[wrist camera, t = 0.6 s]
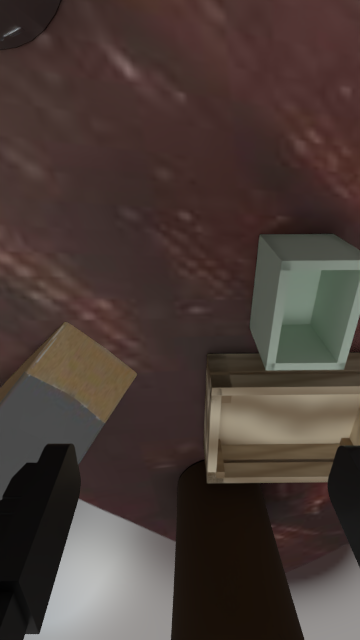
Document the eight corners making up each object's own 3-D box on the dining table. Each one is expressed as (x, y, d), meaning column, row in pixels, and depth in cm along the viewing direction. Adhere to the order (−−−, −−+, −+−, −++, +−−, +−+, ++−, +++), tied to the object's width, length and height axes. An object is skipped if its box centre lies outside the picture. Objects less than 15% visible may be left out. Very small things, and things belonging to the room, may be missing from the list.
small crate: (259, 234, 25) (281, 260, 20) (333, 233, 25) (375, 260, 20) (249, 327, 29) (265, 370, 23) (313, 326, 29) (343, 369, 23)
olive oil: (182, 447, 36) (191, 936, 14) (276, 459, 37) (421, 932, 15) (165, 506, 41) (151, 934, 19) (248, 515, 42) (326, 931, 20)
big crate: (207, 353, 30) (211, 387, 26) (380, 352, 30) (412, 385, 26) (203, 444, 36) (207, 483, 32) (349, 442, 36) (371, 481, 32)
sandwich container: (141, 373, 31) (116, 546, 18) (48, 454, 36) (-24, 633, 23) (65, 317, 28) (-31, 474, 15) (-24, 413, 34) (-154, 592, 20)
